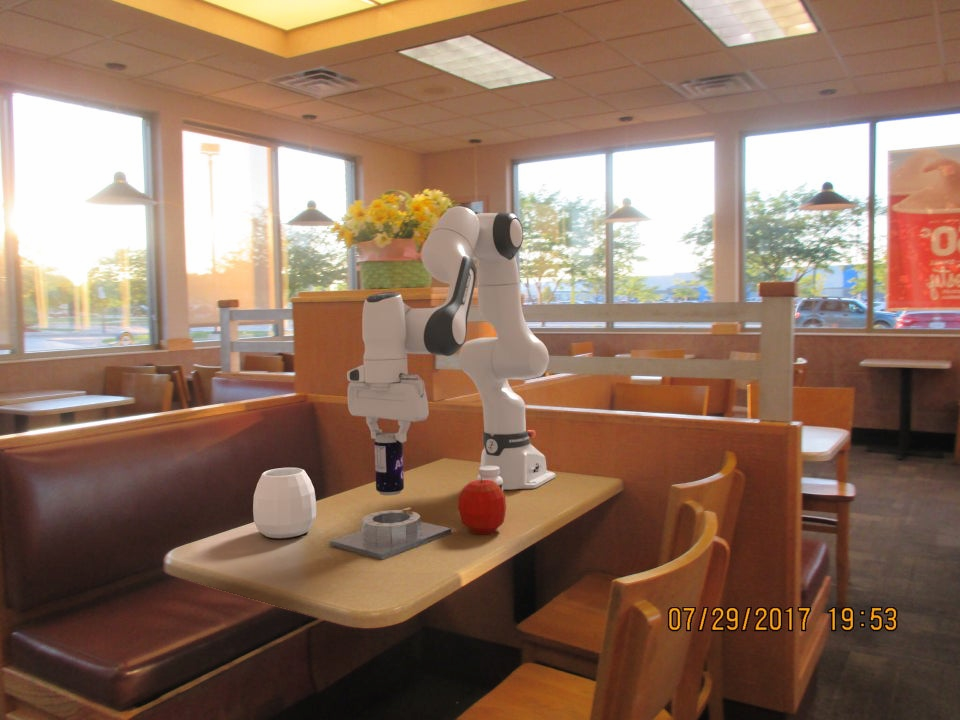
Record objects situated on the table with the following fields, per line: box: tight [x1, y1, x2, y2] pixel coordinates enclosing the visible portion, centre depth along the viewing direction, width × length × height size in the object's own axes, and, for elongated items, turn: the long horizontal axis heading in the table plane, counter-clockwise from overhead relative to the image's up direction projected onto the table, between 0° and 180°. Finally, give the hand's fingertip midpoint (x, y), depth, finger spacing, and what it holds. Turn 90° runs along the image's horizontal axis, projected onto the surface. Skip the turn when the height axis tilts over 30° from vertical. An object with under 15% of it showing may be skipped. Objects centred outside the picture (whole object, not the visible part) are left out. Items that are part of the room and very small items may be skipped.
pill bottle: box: [475, 466, 504, 492], centre depth 171 cm, size 6×6×11 cm
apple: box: [457, 478, 507, 535], centre depth 159 cm, size 10×10×12 cm
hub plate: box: [329, 507, 452, 561], centre depth 155 cm, size 20×15×5 cm
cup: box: [252, 467, 317, 539], centre depth 161 cm, size 13×13×14 cm
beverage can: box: [374, 432, 405, 496], centre depth 154 cm, size 6×6×12 cm
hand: (388, 440), depth 154 cm, fingers closed on beverage can, 6 cm apart
